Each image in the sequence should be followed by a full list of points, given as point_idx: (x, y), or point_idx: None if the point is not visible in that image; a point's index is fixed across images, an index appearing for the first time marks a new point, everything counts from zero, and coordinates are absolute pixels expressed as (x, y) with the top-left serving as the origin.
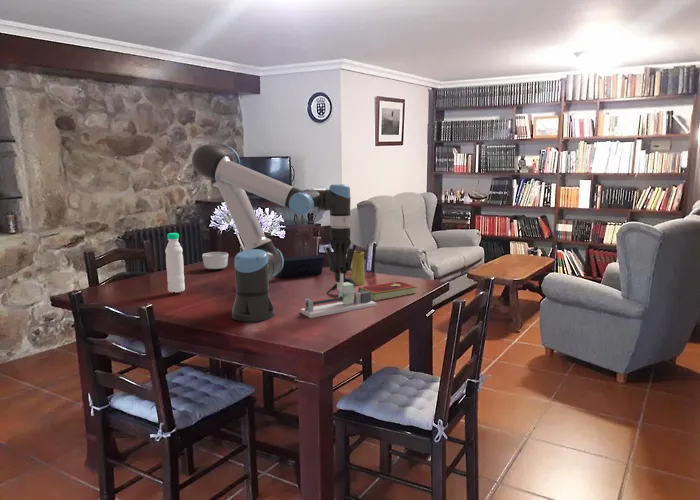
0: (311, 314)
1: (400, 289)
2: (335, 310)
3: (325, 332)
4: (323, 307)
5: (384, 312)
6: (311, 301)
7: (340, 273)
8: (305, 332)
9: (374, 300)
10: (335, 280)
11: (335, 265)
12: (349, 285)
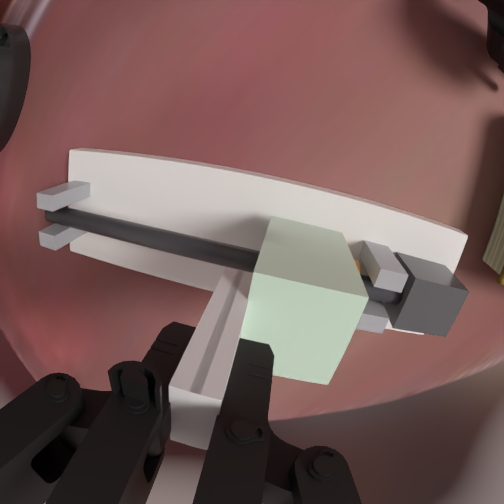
0: (76, 250)
1: None
2: (185, 281)
3: (81, 368)
4: (157, 207)
5: (360, 389)
6: (50, 248)
7: (179, 433)
8: (43, 330)
9: (485, 258)
10: (164, 332)
11: (78, 482)
12: (287, 374)
